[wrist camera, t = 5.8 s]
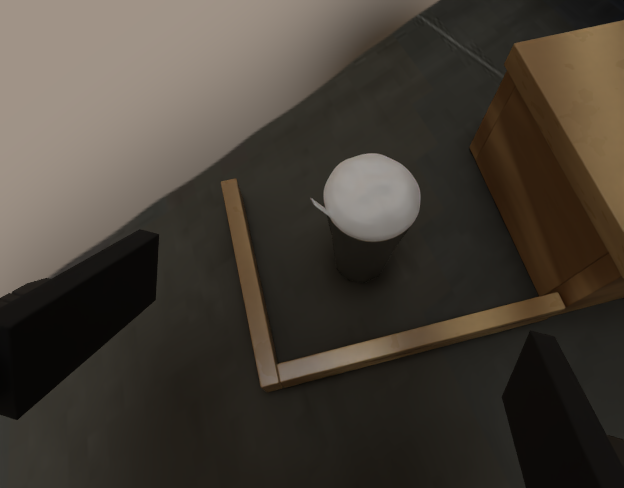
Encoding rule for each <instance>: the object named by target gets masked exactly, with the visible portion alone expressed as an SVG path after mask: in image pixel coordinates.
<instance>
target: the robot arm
mask: <svg viewBox="0 0 624 488" xmlns="http://www.w3.org/2000/svg"><path fill="white" fill-rule="evenodd" d="M158 245H159V234H156V233H152V232H148V231H144V230H138V231H136V232H134V233H132V234H131V235H129V236H127V237H125V238H123V239H122V240H120V241H118V242H116V243H115V244H113V245H111V246H109V247H107V248H106V249H104V250H102V251H100V252H99V253H97V254H95V255H93V256H91V257H90V258H88V259H86V260H84V261H83V262H81V263H79V264H77V265H75V266H74V267H72V268H70V269H68V270H67V271H65V272H63V273H61V274H59V275H58V276H56V277H54V278H52V279H48V278H45V279H41V280H38V281H34V282H31V283H27V284H25V285H24V286H22V287H20V288H18V289H16V290H14V291H13V292H12V293H11V294H10V293H9V294H7V295H5V296H3V297H1V298H0V415H3V416H6V417H9V418H12V419H15V420H18V419H19V418H20V417H21V416H22V415H23V414H25V413H26V412H27V411H28V410H29V409H30V408H32V407H33V406H34V405H35V404H36V403H37V402H38V401H40V400H41V399H42V398H43V397H44V396H45V395H47V394H48V393H49V392H50V391H51V390H52V389H53V388H55V387H56V386H57V385H58V384H59V383H60V382H62V381H63V380H64V379H65V378H66V377H67V376H68V375H70V374H71V373H72V372H73V371H74V370H75V369H77V368H78V367H79V366H80V365H81V364H82V363H83V362H85V361H86V360H87V359H88V358H89V357H90V356H92V355H93V354H94V353H95V352H96V351H97V350H98V349H100V348H101V347H102V346H103V345H104V344H105V343H107V342H108V341H109V340H110V339H111V338H112V337H113V336H115V335H116V334H117V333H118V332H119V331H120V330H122V329H123V328H124V327H125V326H126V325H127V324H128V323H130V322H131V321H132V320H133V319H134V318H135V317H137V316H138V315H139V314H140V313H141V312H142V311H143V310H145V309H146V308H147V307H148V306H149V305H150V304H152V303H153V302H154V301H155V300H156V283H157V264H158ZM502 399H503V403H504V407H505V411H506V414H507V418H508V422H509V426H510V429H511V433H512V437H513V441H514V444H515V448H516V452H517V456H518V459H519V463H520V467H521V471H522V474H523V478H524V482H525V486H526V488H624V441H623V440H622V439H619V438H616V437H612V436H609V435H606V433H605V431H604V429H603V428H602V426H601V424H600V422H599V420H598V418H597V416H596V414H595V412H594V410H593V409H592V407H591V405H590V403H589V401H588V399H587V397H586V395H585V393H584V392H583V390H582V388H581V386H580V384H579V382H578V380H577V378H576V376H575V375H574V373H573V371H572V369H571V367H570V365H569V363H568V361H567V359H566V357H565V356H564V354H563V352H562V350H561V348H560V346H559V344H558V342H557V340H556V339H555V337H553V336H549V335H546V334H542V333H538V332H534V331H530V332H529V335H528V337H527V339H526V342H525V344H524V346H523V349H522V351H521V353H520V356H519V358H518V360H517V363H516V365H515V367H514V370H513V372H512V374H511V377H510V379H509V381H508V384H507V386H506V388H505V391H504V393H503V395H502Z"/></svg>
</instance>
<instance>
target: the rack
mask: <svg viewBox="0 0 624 488" xmlns="http://www.w3.org/2000/svg"><path fill="white" fill-rule="evenodd" d="M504 66H505V67H506V69H507V72H506V74H505V76H504V78H503V80H502V82H501V84H500V86H499V88H498V90H497V92H496V94H495V96H494V98H493V100H492V102H491V104H490V106H489V108H488V110H487V112H486V114H485V116H484V118H483V120H482V123H481V125H480V127H479V129H478V131H477V133H476V135H475V137H474V139H473V141H472V143H471V145H470V150H471V152H472V154H473V156H474V158H475V160H476V163H477V165H478V167H479V169H480V171H481V174H482V176H483V178H484V180H485V182H486V184H487V186H488V188H489V191H490V193H491V195H492V197H493V199H494V201H495V203H496V205H497V208H498V210H499V212H500V214H501V216H502V218H503V220H504V223H505V225H506V227H507V229H508V231H509V233H510V235H511V237H512V240H513V242H514V244H515V246H516V248H517V250H518V252H519V254H520V257H521V259H522V261H523V263H524V265H525V267H526V269H527V271H528V274H529V276H530V278H531V280H532V282H533V284H534V286H535V288H536V291H537V293H538V295H539V297H535V298H532V299H528V300H524V301H520V302H516V303H512V304H508V305H504V306H500V307H497V308H493V309H489V310H485V311H481V312H477V313H473V314H469V315H465V316H461V317H458V318H454V319H450V320H446V321H442V322H438V323H434V324H430V325H426V326H423V327H419V328H415V329H411V330H407V331H403V332H399V333H395V334H391V335H388V336H384V337H380V338H376V339H372V340H368V341H364V342H360V343H356V344H353V345H349V346H345V347H341V348H337V349H333V350H329V351H325V352H321V353H317V354H314V355H310V356H306V357H302V358H298V359H294V360H290V361H286V362H282V363H279V364H278V360H277V356H276V351H275V346H274V342H273V337H272V332H271V328H270V323H269V318H268V314H267V309H266V304H265V300H264V295H263V290H262V286H261V281H260V276H259V272H258V267H257V262H256V258H255V253H254V248H253V244H252V239H251V234H250V230H249V225H248V220H247V216H246V211H245V206H244V202H243V197H242V194H241V191H240V188H239V185H238V182H237V179H231V180H226V181H222V182H221V186H222V191H223V196H224V202H225V207H226V212H227V217H228V222H229V227H230V232H231V237H232V243H233V248H234V253H235V258H236V263H237V268H238V273H239V278H240V284H241V289H242V294H243V299H244V304H245V309H246V314H247V320H248V325H249V330H250V335H251V340H252V345H253V350H254V355H255V361H256V366H257V371H258V376H259V381H260V386H261V388H262V389H263V390H264V391H266V392H271V391H275V390H279V389H282V388H283V387H284V388H286V387H290V386H294V385H298V384H302V383H305V382H309V381H313V380H317V379H321V378H324V377H328V376H332V375H336V374H340V373H344V372H347V371H351V370H355V369H359V368H363V367H367V366H370V365H374V364H378V363H382V362H386V361H390V360H393V359H397V358H401V357H405V356H409V355H413V354H416V353H420V352H424V351H428V350H432V349H435V348H439V347H443V346H447V345H451V344H455V343H458V342H462V341H466V340H470V339H474V338H478V337H481V336H485V335H489V334H493V333H497V332H501V331H504V330H508V329H512V328H516V327H520V326H523V325H527V324H531V323H535V322H539V321H543V320H546V319H548V318H550V317H551V316H555V315H559V314H563V313H567V312H570V311H574V310H578V309H582V308H586V307H590V306H593V305H597V304H601V303H605V302H609V301H613V300H616V299H620V298H624V20H623V21H618V22H613V23H608V24H604V25H599V26H594V27H589V28H585V29H580V30H575V31H571V32H566V33H561V34H556V35H552V36H547V37H542V38H537V39H533V40H528V41H523V42H519V43H514V45H513V47H512V49H511V51H510V53H509V55H508V57H507V59H506V61H505V63H504Z"/></svg>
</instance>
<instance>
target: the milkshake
mask: <svg viewBox="0 0 624 488" xmlns="http://www.w3.org/2000/svg"><path fill="white" fill-rule="evenodd" d="M420 198H421V196H420V189H419V186H418V184H417V182H416V180H415V178H414V177H413V176H412V174H411V173H410V172H409V171H408V169H407V168H406V167H404V166H403V165H402V164H400V163H399V162H397V161H395V160H393V159H391V158H388V157H386V156H384V155H381V154H375V153H369V154H362V155H359V156H355V157H352V158H349V159H347V160H345V161H343V162H341V163H340V164H339V165H338V166H337V167H336V168H335V169H334V170H333V172H332V173H331V175H330V177H329V178H328V180H327V182H326V185H325V188H324V204H325V208H324V207H323V206H321V205H320V204H319V203H318V202H316V201H315V200H314V199H312V198H310V199H311V201H312V202H313V204H314V206H315V207H317V208H318V209H319V210H321V211H322V212H323V213H325V214H326V215H327V218H328V223H329V227H330V231H331V235H332V242H333V250H334V256H335V262H336V269H337V270H338V271H339V272H340V273H341V274H342V275H343V276H344V277H345V278H346V279H347V280H349V281H355V282H361V283H366V282H368V281H370V280H372V279H374V278H377V277H379V276H380V274H381V272H382V270H383V269H384V267H385V265H386V263H387V262H388V260H389V258H390V256H391V255H392V253H393V251H394V250H395V248H396V247H397V245H398V244H399V242H400V241H401V240H402V238H403V237H404V235H405V234H406V232H407V231H408V229H409V228H410V226H411V225H412V224H413V222H414V221H415V219H416V218H417V216H418V213H419V209H420Z"/></svg>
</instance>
